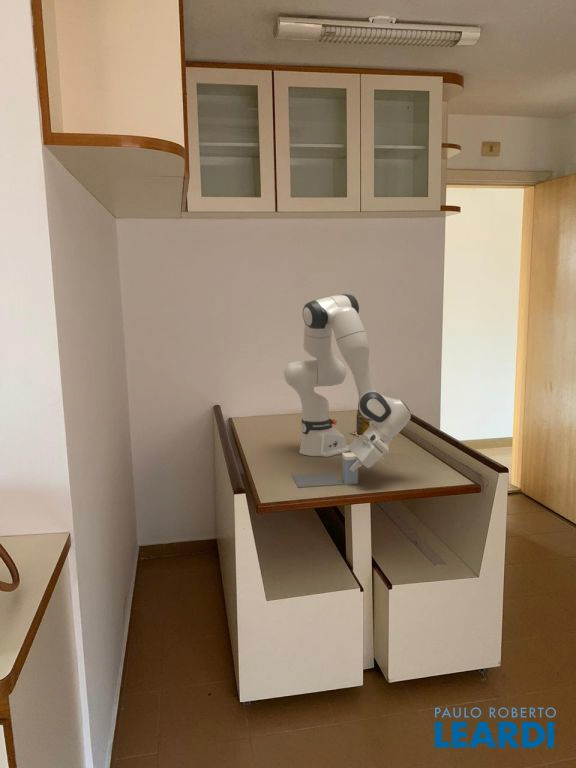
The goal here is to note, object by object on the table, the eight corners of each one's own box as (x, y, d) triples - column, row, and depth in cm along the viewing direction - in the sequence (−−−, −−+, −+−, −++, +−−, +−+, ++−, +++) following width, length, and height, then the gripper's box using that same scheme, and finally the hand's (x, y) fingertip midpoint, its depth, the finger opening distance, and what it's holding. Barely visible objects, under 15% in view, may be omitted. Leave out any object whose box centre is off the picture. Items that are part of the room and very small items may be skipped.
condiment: (372, 434, 276) (373, 409, 274) (357, 437, 272) (357, 411, 270) (364, 431, 283) (364, 407, 281) (349, 433, 279) (349, 409, 277)
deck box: (354, 479, 212) (354, 452, 210) (358, 483, 207) (358, 456, 205) (342, 480, 211) (342, 452, 210) (345, 484, 206) (345, 456, 205)
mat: (334, 472, 220) (334, 471, 220) (343, 484, 206) (343, 483, 206) (291, 475, 217) (291, 474, 217) (298, 487, 204) (298, 486, 204)
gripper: (361, 426, 217) (335, 453, 218) (377, 440, 197) (349, 470, 198) (372, 437, 219) (347, 464, 219) (390, 452, 199) (362, 482, 199)
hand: (348, 467), depth 208 cm, fingers closed on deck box, 5 cm apart
